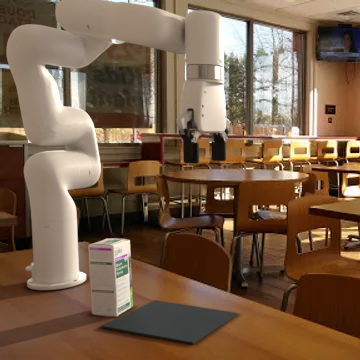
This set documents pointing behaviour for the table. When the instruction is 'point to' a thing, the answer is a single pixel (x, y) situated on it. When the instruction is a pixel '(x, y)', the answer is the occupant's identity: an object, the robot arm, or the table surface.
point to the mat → (171, 321)
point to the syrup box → (110, 277)
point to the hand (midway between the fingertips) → (205, 161)
